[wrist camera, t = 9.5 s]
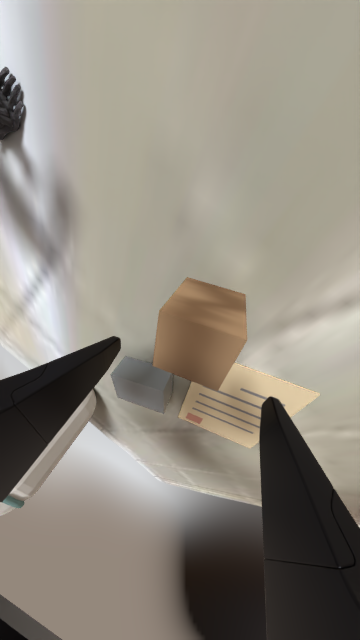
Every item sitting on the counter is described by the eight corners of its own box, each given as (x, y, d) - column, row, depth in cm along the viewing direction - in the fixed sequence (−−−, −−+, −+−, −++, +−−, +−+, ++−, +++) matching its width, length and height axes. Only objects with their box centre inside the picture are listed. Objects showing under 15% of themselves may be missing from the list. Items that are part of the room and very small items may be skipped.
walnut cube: (245, 294, 13) (246, 340, 9) (224, 338, 16) (217, 391, 12) (187, 277, 14) (159, 310, 9) (177, 322, 17) (152, 365, 12)
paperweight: (173, 368, 21) (163, 391, 19) (173, 390, 24) (164, 413, 21) (126, 354, 23) (110, 374, 20) (131, 377, 26) (117, 397, 23)
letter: (319, 393, 16) (320, 394, 16) (250, 447, 26) (250, 448, 25) (203, 351, 18) (203, 351, 18) (178, 416, 27) (177, 417, 27)
